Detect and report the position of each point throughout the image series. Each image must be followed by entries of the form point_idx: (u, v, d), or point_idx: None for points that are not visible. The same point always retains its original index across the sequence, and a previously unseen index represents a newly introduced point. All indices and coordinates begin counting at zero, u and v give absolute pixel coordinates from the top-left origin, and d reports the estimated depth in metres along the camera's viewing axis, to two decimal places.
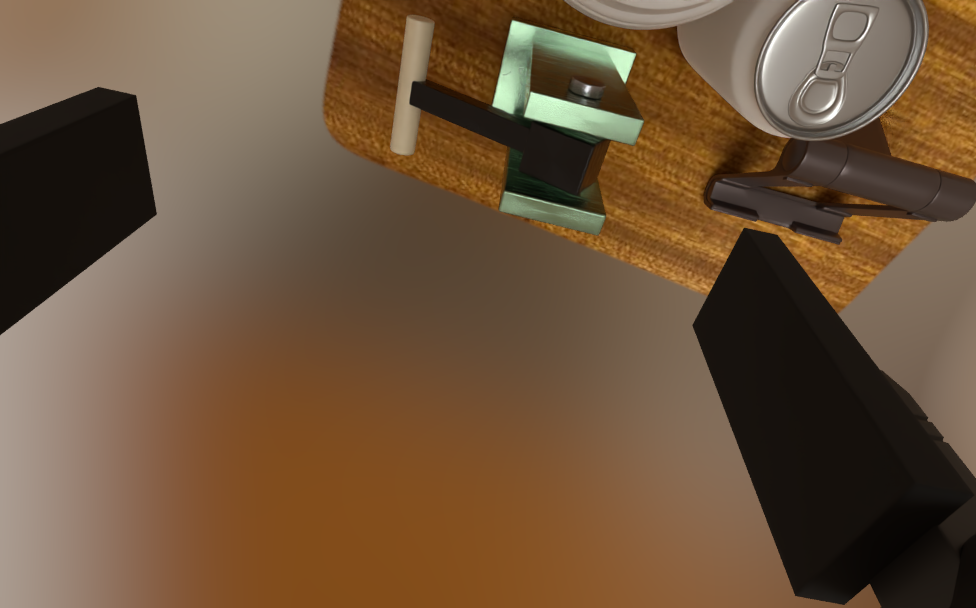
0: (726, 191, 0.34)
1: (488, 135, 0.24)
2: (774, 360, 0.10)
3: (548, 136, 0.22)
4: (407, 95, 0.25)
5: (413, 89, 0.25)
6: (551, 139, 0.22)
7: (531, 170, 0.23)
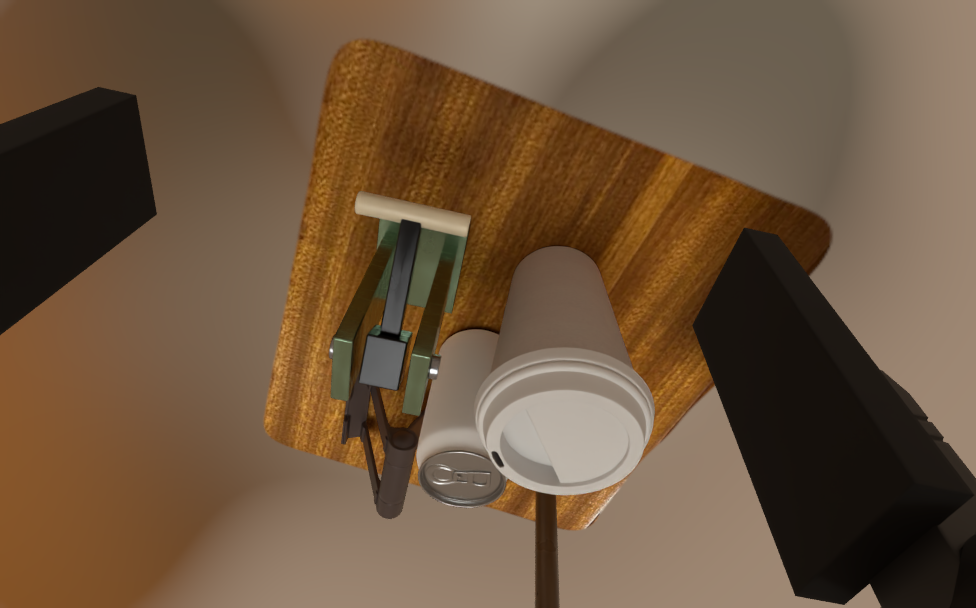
0: None
1: (388, 297, 0.29)
2: (774, 360, 0.10)
3: (398, 357, 0.29)
4: (408, 217, 0.29)
5: (414, 223, 0.29)
6: (396, 359, 0.29)
7: (370, 346, 0.29)
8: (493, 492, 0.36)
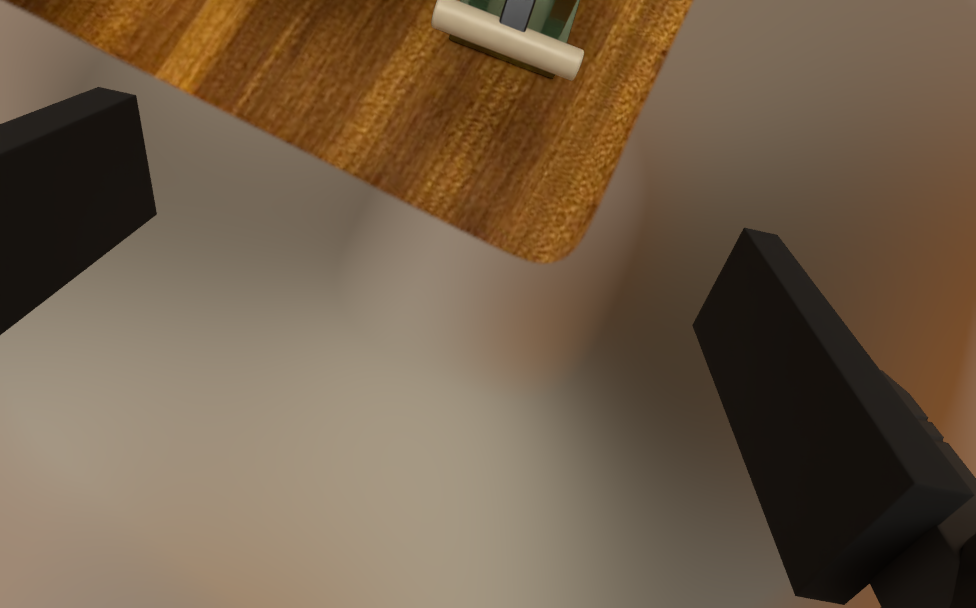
0: None
1: None
2: (774, 360, 0.10)
3: None
4: (515, 32, 0.21)
5: (507, 22, 0.21)
6: None
7: None
8: None
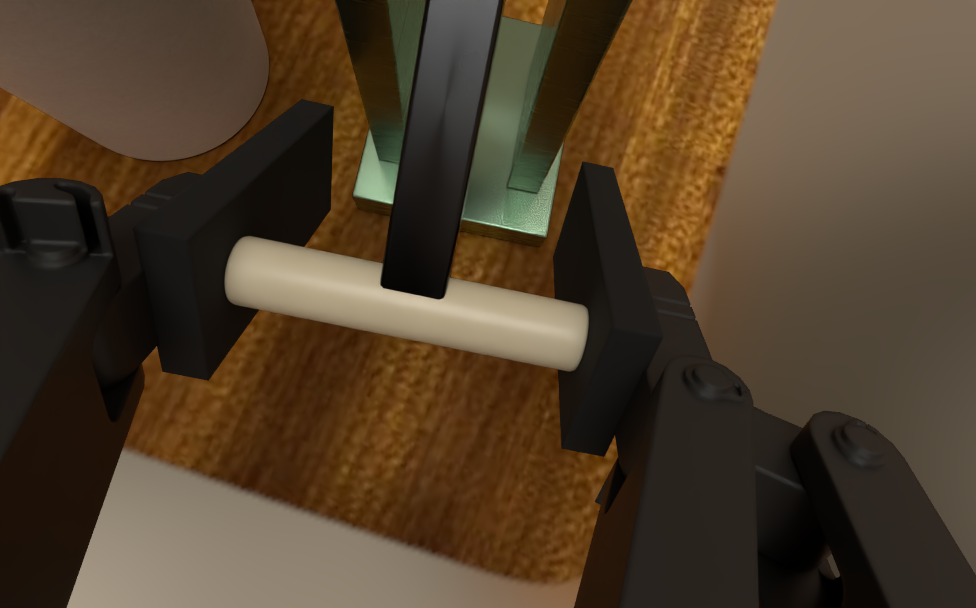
0: None
1: (490, 17, 0.08)
2: (579, 265, 0.11)
3: None
4: (421, 303, 0.09)
5: (400, 284, 0.09)
6: None
7: None
8: None
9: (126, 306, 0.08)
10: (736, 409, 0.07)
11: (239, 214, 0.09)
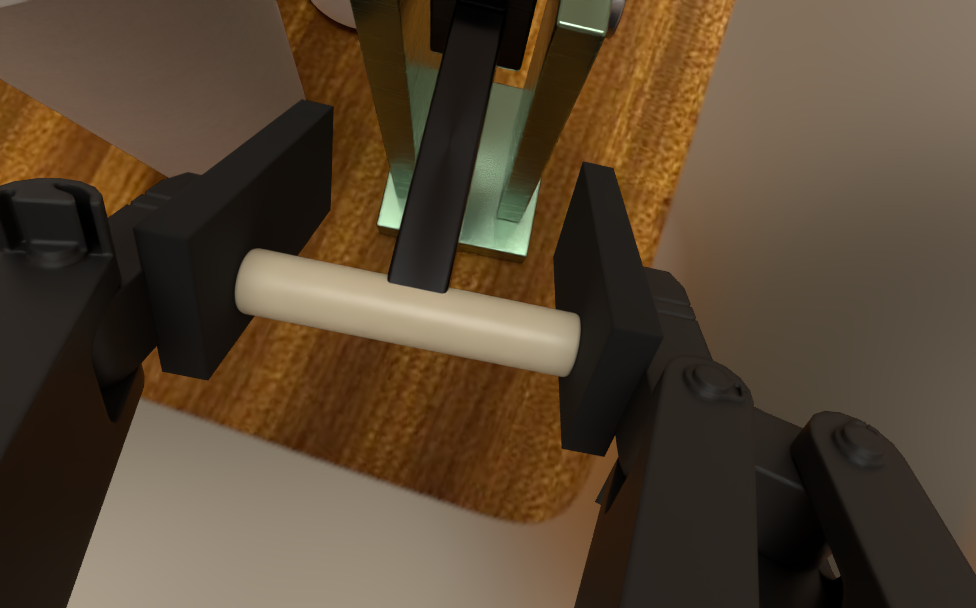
0: None
1: (482, 91, 0.11)
2: (579, 265, 0.11)
3: None
4: (425, 297, 0.10)
5: (405, 280, 0.10)
6: None
7: None
8: None
9: (127, 306, 0.08)
10: (736, 409, 0.07)
11: (239, 214, 0.09)
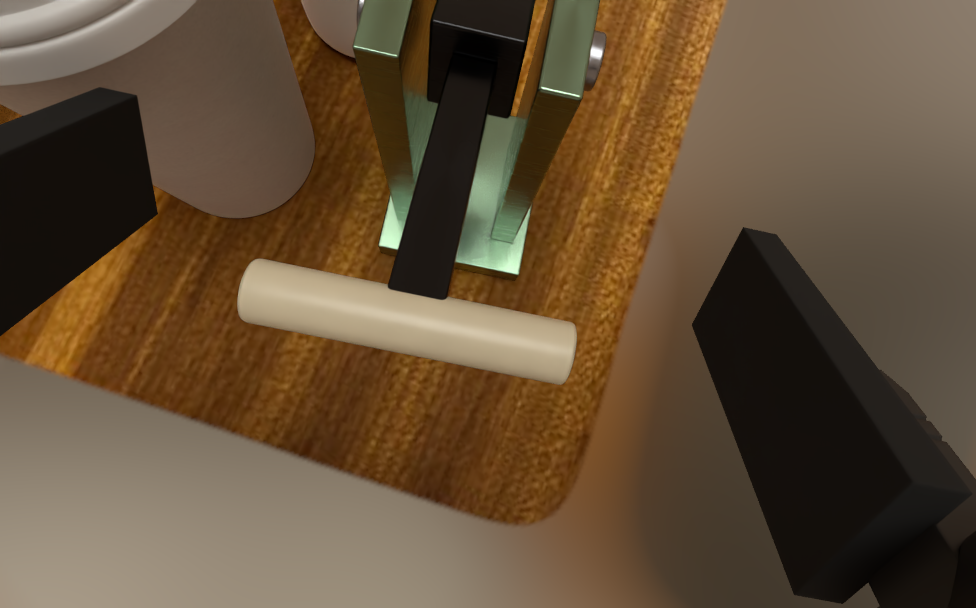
0: None
1: (477, 125, 0.12)
2: (773, 360, 0.10)
3: None
4: (425, 302, 0.10)
5: (406, 286, 0.10)
6: None
7: (518, 21, 0.12)
8: None
9: None
10: None
11: None
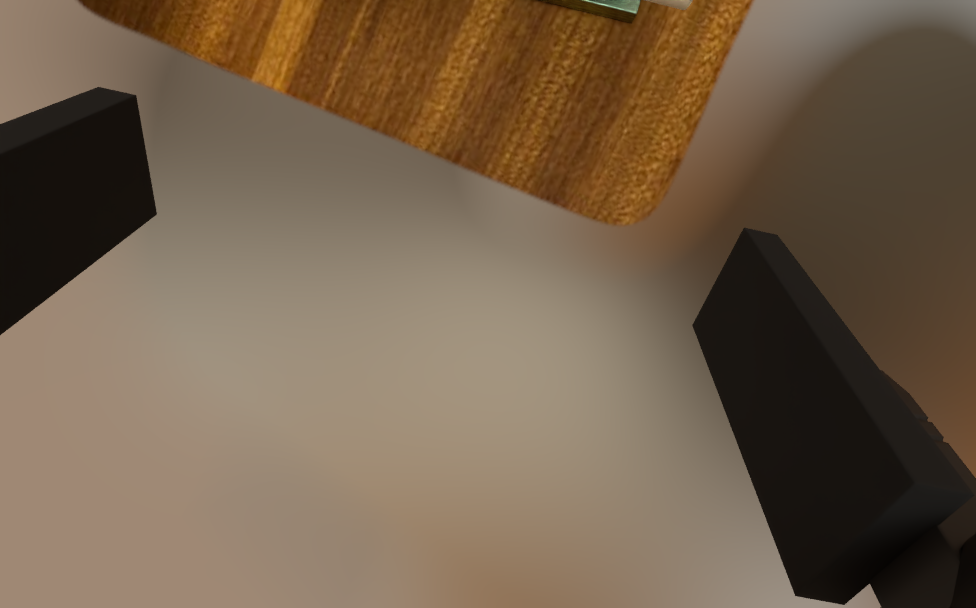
0: None
1: None
2: (774, 360, 0.10)
3: None
4: None
5: None
6: None
7: None
8: None
9: None
10: None
11: None
